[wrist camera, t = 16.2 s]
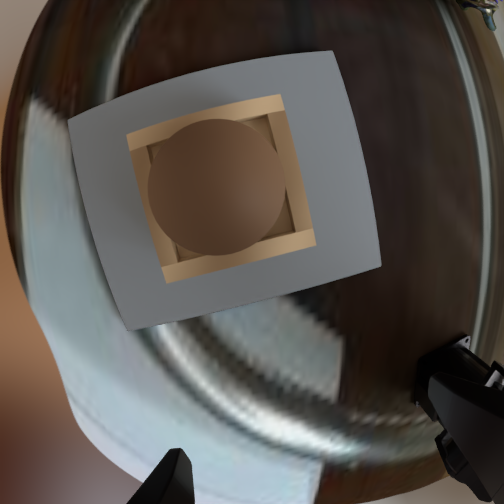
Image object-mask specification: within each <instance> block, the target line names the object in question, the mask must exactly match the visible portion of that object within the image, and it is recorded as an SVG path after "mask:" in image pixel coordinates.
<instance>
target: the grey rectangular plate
mask: <svg viewBox="0 0 504 504" xmlns="http://www.w3.org/2000/svg"><path fill="white" fill-rule="evenodd" d="M277 94H281V98H282V101H283V105H284V108H285V112H286V116H287V119H288V123H289V127H290V131H291V135H292V139H293V142H294V146H295V150H296V154H297V158H298V163H299V167H300V171H301V175H302V180H303V184H304V188H305V193H306V197H307V202H308V206H309V211H310V216H311V221H312V225H313V230H314V235H315V240H316V246H312V247H308V248H305V249H301V250H297V251H293V252H289V253H285V254H282V255H278V256H274V257H270V258H266V259H262V260H258V261H254V262H250V263H247V264H243V265H239V266H235V267H231V268H227V269H223V270H219V271H215V272H211V273H207V274H203V275H199V276H195V277H191V278H187V279H183V280H179V281H175V282H171V283H167V284H166V281H165V277H164V274H163V271H162V268H161V265H160V262H159V259H158V256H157V252H156V249H155V246H154V243H153V239H152V236H151V232H150V229H149V225H148V222H147V218H146V215H145V211H144V207H143V204H142V200H141V196H140V192H139V188H138V184H137V180H136V176H135V172H134V168H133V164H132V159H131V155H130V150H129V146H128V141H127V136H126V135H127V134H129V133H132V132H135V131H138V130H141V129H143V128H146V127H149V126H152V125H155V124H158V123H161V122H165V121H168V120H171V119H174V118H178V117H181V116H185V115H188V114H192V113H195V112H199V111H203V110H206V109H210V108H214V107H218V106H223V105H227V104H231V103H236V102H240V101H245V100H250V99H255V98H260V97H265V96H271V95H277ZM68 127H69V134H70V140H71V146H72V151H73V157H74V162H75V167H76V172H77V176H78V181H79V185H80V190H81V194H82V198H83V202H84V206H85V210H86V214H87V217H88V221H89V225H90V228H91V232H92V235H93V238H94V242H95V245H96V248H97V251H98V254H99V257H100V261H101V264H102V266H103V269H104V272H105V275H106V278H107V281H108V284H109V286H110V289H111V292H112V294H113V297H114V300H115V302H116V305H117V307H118V310H119V312H120V315H121V317H122V320H123V322H124V324H125V327H126V329H127V331H131V330H136V329H141V328H146V327H151V326H156V325H161V324H165V323H170V322H174V321H179V320H183V319H188V318H192V317H197V316H201V315H205V314H210V313H214V312H218V311H222V310H226V309H230V308H234V307H238V306H242V305H246V304H250V303H254V302H258V301H262V300H266V299H270V298H274V297H277V296H281V295H285V294H288V293H292V292H296V291H299V290H303V289H307V288H310V287H314V286H317V285H321V284H324V283H328V282H331V281H335V280H338V279H341V278H345V277H348V276H351V275H355V274H358V273H361V272H364V271H368V270H371V269H374V268H377V267H381V257H380V249H379V241H378V234H377V227H376V221H375V214H374V208H373V202H372V197H371V191H370V186H369V181H368V176H367V171H366V166H365V162H364V157H363V153H362V149H361V144H360V140H359V136H358V132H357V128H356V124H355V121H354V117H353V113H352V110H351V106H350V103H349V99H348V96H347V93H346V89H345V86H344V83H343V80H342V77H341V74H340V71H339V68H338V65H337V62H336V59H335V56H334V53H333V51H319V52H307V53H297V54H288V55H280V56H272V57H266V58H259V59H253V60H248V61H242V62H237V63H232V64H227V65H223V66H218V67H214V68H210V69H206V70H202V71H198V72H194V73H190V74H186V75H183V76H179V77H176V78H173V79H169V80H166V81H163V82H160V83H157V84H154V85H151V86H148V87H145V88H142V89H139V90H136V91H134V92H131V93H128V94H126V95H123V96H121V97H118V98H116V99H113V100H111V101H108V102H106V103H104V104H101V105H99V106H97V107H94V108H92V109H90V110H88V111H85V112H83V113H81V114H79V115H77V116H75V117H73V118H71V119H69V120H68Z"/></svg>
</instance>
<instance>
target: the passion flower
mask: <svg viewBox="0 0 504 504" xmlns="http://www.w3.org/2000/svg"><path fill="white" fill-rule="evenodd" d="M494 1H495V2H496V3H497V4H498V1H497V0H456V2H457V3H458V4H459V6H460V7H461V9H462V10H468V9H469V8H470V7H473V8H476V9H478V10H480V11H481V13H482V15H483V18H484V21H485V24H486V26H487V27H488V28H489V29H490V30H491V31H495V30H496V26H495V23H494V20H493V13H494V12H495V11H496V10H497V9H498V8H499V7H498V6H497V4H496V3H495V2H494ZM500 1H503V0H500Z"/></svg>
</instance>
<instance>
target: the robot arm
mask: <svg viewBox="0 0 504 504" xmlns="http://www.w3.org/2000/svg"><path fill="white" fill-rule="evenodd" d="M469 345H470V336H469V335H467V334H466V335H464V336H462V337H460V338H458V339H457V340H455V341H453V342H451V343H449V344H447V345H445V346H443V347H441V348H439V349H437V350H435V351H433V352H431V353H429V354H427V355H425V356H423V357H421V358H420V359H419V361H418V371H417V380H416V386H415V395H414V398H415V400H414V404H415V406H416V407H419V406H421V407H422V408H423V410H424V411H425V412H426V413H427V415H428V416H429V417H430V418H431V420H432V421H434V422H436V421H439V423H440V424H441V425H442V426H443V428H444V430H443V431H442V432H441V434H440V435H438V436H437V437H436V438H435V439H434V440H435V442H436V445H437V448H438V450H439V453H440V455H441V457H442V460H443V462H444V465H445V467H446V470H447V472H448V474H449V475H450V476H451V477H452V478H455V479H456V480H457V481H459V482H461V483H464V484H466V485H467V486H468V487H469V488H470V489H471V490H472V491H473V493H474V494H475V495H476V496H477V498H478V499H479V500H481V501H485V502H491V501H494V503H495V504H504V365H502V364H501V363H499V362H497V361H495V360H494V361H493V363H492V364H491V367H490V366H488V365H487V364H486V363H485V362H484V361H482V360H481V359H480V358H479V357H477V356H476V355H475V354H473V353H472V352H471V351H470V350H469ZM127 504H195V497H194V486H193V474H192V464H191V461H190V459H189V458H188V457H187V455H186V454H185V452H184V451H183V449H181V448H173V449H170V450H169V451H168V452H167V453H166V455H165V456H164V457H163V458H162V460H161V461H160V462H159V464H158V465H157V466H156V467H155V469H154V470H153V471H152V473H151V474H150V475H149V476H148V478H147V479H146V480H145V481H144V483H143V484H142V485H141V486H140V488H139V489H138V490H137V491H136V493H135V494H134V495H133V496H132V497H131V499H130V500H129V501H128V502H127Z"/></svg>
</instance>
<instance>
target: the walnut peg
mask: <svg viewBox="0 0 504 504" xmlns="http://www.w3.org/2000/svg"><path fill="white" fill-rule="evenodd" d="M284 198H285V176H284V170H283V167H282V164H281V161H280V159H279V157H278V154H277V153H276V151H275V150H274V148H273V147H272V145H271V144H270V143H269V142H268V140H267V139H265V138H264V137H263V136H262V135H261V134H260V133H259V132H257V131H256V130H254V129H253V128H251V127H249V126H247V125H245V124H242V123H240V122H237V121H232V120H228V119H207V120H202V121H198V122H195V123H192V124H190V125H188V126H186V127H183V128H182V129H180V130H179V131H177V132H176V133H174V134H173V135H172V136H171V137H170V138H169V139H168V140H167V141H166V142H165V143H164V144H163V145H162V147H161V148H160V150H159V151H158V152H157V154H156V156H155V158H154V160H153V163H152V165H151V168H150V172H149V177H148V199H149V204H150V208H151V211H152V214H153V216H154V218H155V220H156V222H157V223H158V225H159V226H160V228H161V229H162V230H163V232H164V233H165V234H166V235H167V236H168V237H169V238H170V239H171V240H172V241H174V242H175V243H177V244H178V245H179V246H181V247H183V248H185V249H187V250H189V251H192V252H195V253H198V254H203V255H211V256H220V255H228V254H233V253H236V252H239V251H242V250H244V249H246V248H248V247H250V246H252V245H253V244H255V243H256V242H258V241H259V240H260V239H261V238H263V237H264V236H265V235H266V234H267V233H268V231H269V230H270V229H271V228H272V226H273V225H274V224H275V222H276V220H277V218H278V216H279V214H280V212H281V209H282V206H283V202H284Z"/></svg>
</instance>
